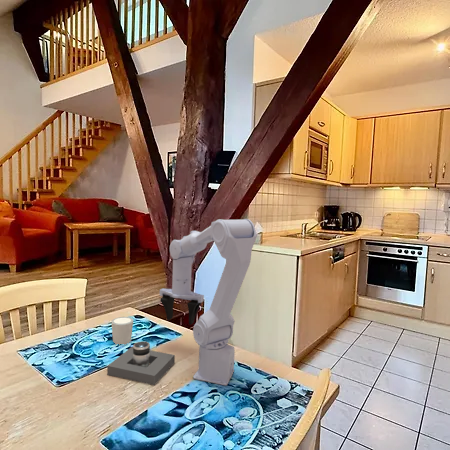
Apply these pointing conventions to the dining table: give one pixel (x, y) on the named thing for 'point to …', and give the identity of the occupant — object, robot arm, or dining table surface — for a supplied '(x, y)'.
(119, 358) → the square peg hole
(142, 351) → the lens
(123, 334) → the white cylinder
